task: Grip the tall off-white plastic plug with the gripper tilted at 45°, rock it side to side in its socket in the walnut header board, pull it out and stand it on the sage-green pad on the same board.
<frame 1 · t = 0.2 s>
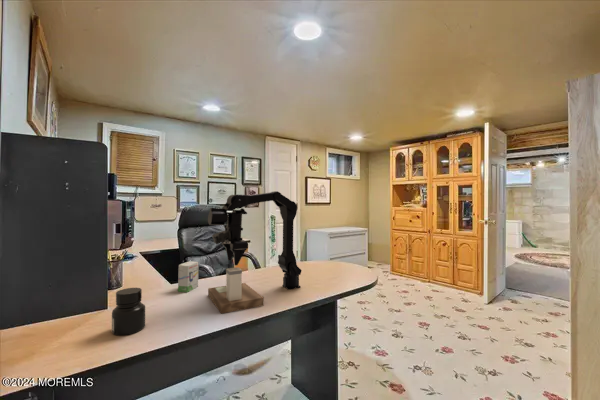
hand: (232, 262, 116), 14 cm above the table, tool pointing down, fingers open, 9 cm apart
header board: (234, 300, 113), on the table
ink box: (188, 289, 127), on the table
plug: (233, 306, 107), resting in header board
ink bottle: (128, 330, 88), on the table
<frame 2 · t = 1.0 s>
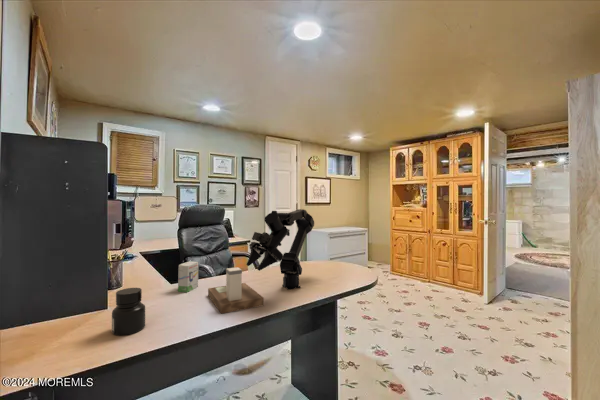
hand: (252, 267, 112), 13 cm above the table, tool tilted 45°, fingers open, 9 cm apart
nothing on the table moved.
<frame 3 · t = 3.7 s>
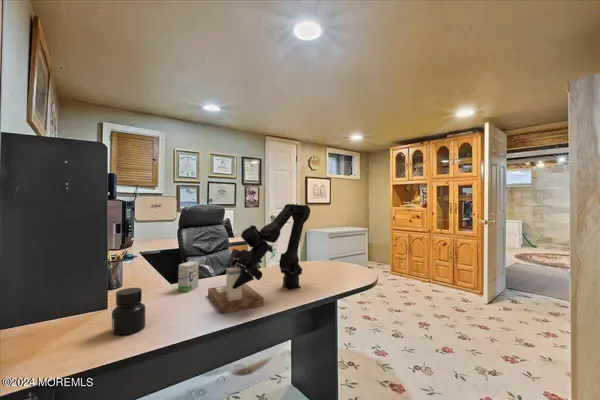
hand: (230, 286, 106), 8 cm above the table, tool tilted 45°, fingers closed on plug, 5 cm apart
plug: (233, 305, 107), resting in header board, touching gripper
everything else where it was.
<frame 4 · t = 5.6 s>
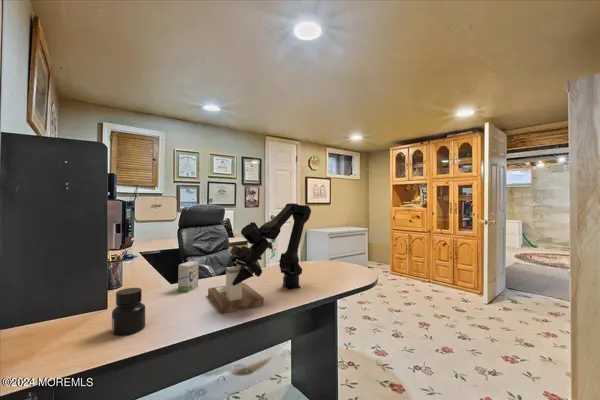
hand: (230, 283, 106), 9 cm above the table, tool tilted 45°, fingers closed on plug, 5 cm apart
plug: (234, 304, 107), resting in header board, touching gripper
everything else where it was.
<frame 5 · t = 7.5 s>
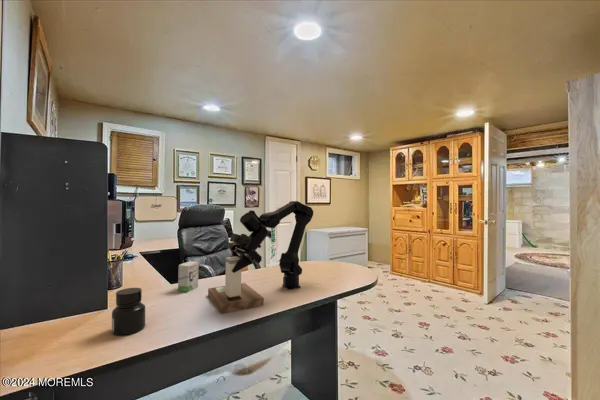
hand: (230, 270, 107), 13 cm above the table, tool tilted 45°, fingers closed on plug, 5 cm apart
plug: (233, 294, 108), point 4 cm above the table, touching gripper
everything else where it was.
when the fingers open (12 cm above the table, at t = 9.1 s): plug stays where it is, resting on header board.
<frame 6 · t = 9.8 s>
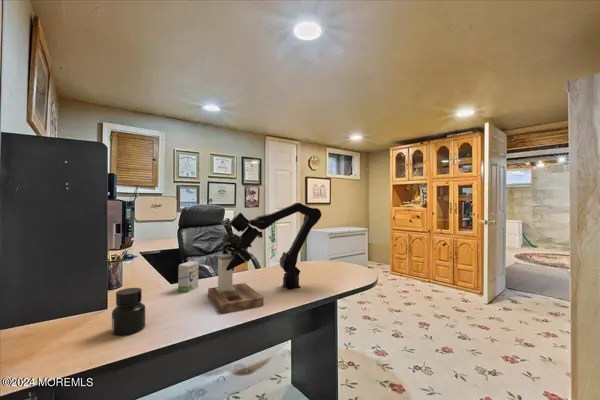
hand: (222, 267, 117), 12 cm above the table, tool tilted 45°, fingers open, 9 cm apart
plug: (225, 288, 118), point 3 cm above the table, touching header board
everything else where it was.
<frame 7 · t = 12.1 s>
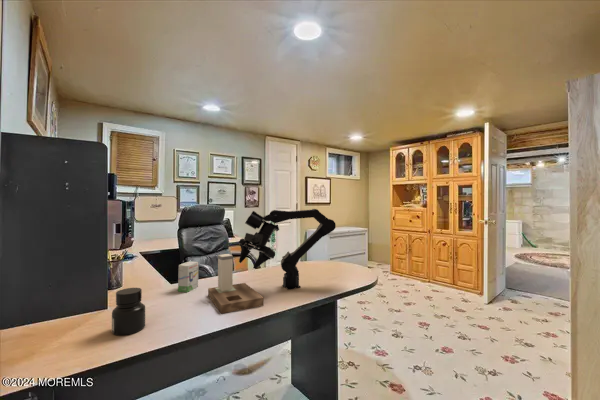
hand: (246, 265, 122), 12 cm above the table, tool tilted 35°, fingers open, 9 cm apart
nothing on the table moved.
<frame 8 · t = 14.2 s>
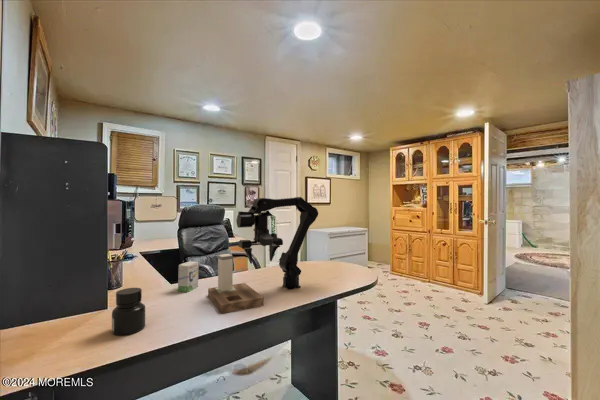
hand: (261, 262, 123), 13 cm above the table, tool pointing down, fingers open, 9 cm apart
nothing on the table moved.
at the end: plug 0.3 cm from the target spot on the header board, point 3.2 cm above the header board's base; plug tilted 0°; the gripper is holding nothing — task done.
